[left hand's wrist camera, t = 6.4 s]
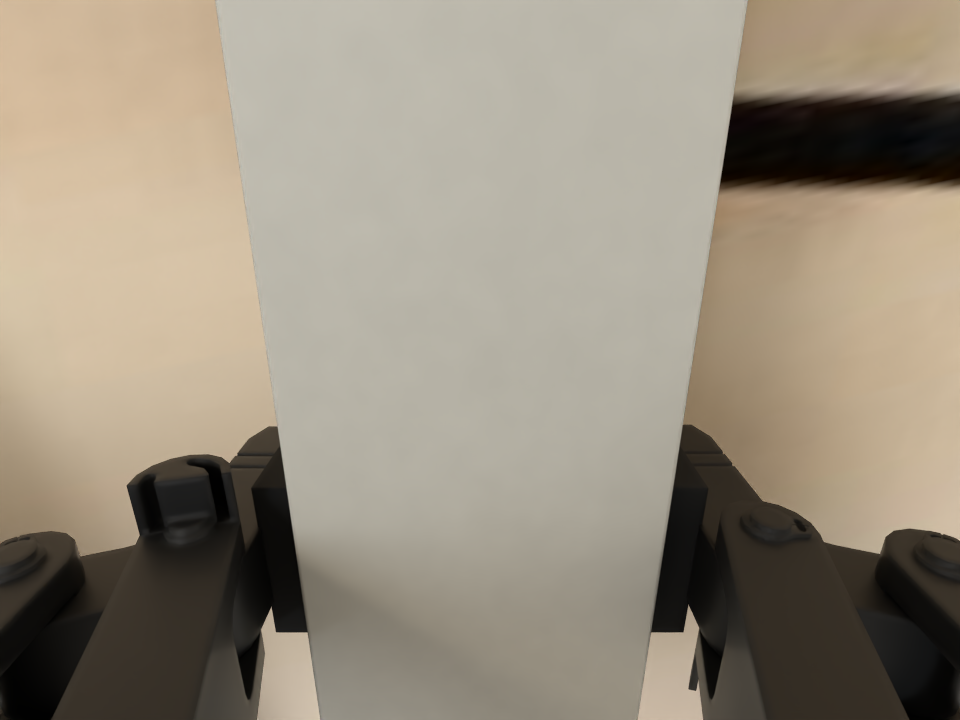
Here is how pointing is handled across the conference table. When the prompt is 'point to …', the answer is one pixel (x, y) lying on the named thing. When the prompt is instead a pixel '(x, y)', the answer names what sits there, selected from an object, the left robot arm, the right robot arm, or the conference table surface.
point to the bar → (480, 329)
